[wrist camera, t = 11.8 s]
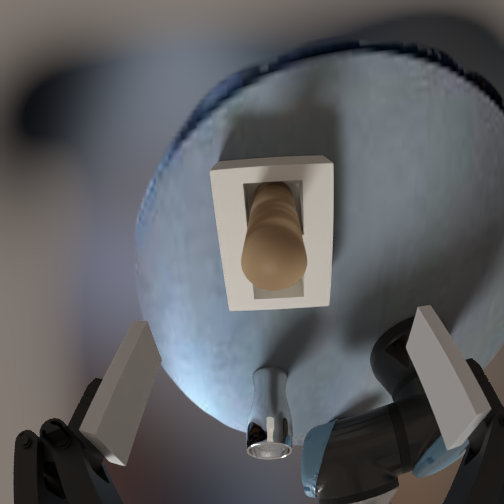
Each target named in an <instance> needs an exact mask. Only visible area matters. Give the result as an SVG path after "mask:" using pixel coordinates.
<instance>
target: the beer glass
mask: <svg viewBox="0 0 504 504" xmlns="http://www.w3.org/2000/svg"><path fill="white" fill-rule="evenodd" d="M253 384H254V397H253V401H252V405H251V408H250V412H249V416H248V421H247V453H248V454H249V455H250V456H252V457H256V458H259V459H278V458H283V457H286V456H288V455H289V454H291V452H292V440H293V425H292V418H291V413H290V409H289V405H288V402H287V398H286V384H287V374H286V373H285V371H283V370H282V369H280V368H276V367H264V368H261V369H259V370H257V371H256V372H255V373H254V374H253Z"/></svg>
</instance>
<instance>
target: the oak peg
mask: <svg viewBox="0 0 504 504" xmlns="http://www.w3.org/2000/svg"><path fill="white" fill-rule="evenodd" d="M241 267H242V270H243V273H244V275H245V276H246V278H247V279H248V280H249V281H250V282H251V283H252V284H254V285H255V286H257V287H259V288H261V289H264V290H270V291H279V290H284V289H287V288H289V287H291V286H293V285H295V284H296V283H297V282H298V281H299V280H300V279H301V278H302V277H303V275H304V273H305V271H306V268H307V255H306V250H305V246H304V241H303V237H302V232H301V228H300V223H299V219H298V215H297V210H296V206H295V202H294V198H293V194H292V191H291V189H290V187H289V186H288V185H287V184H286V183H284V182H282V181H276V182H263V183H261V184H260V185H259V186H258V187H257V189H256V191H255V194H254V198H253V203H252V208H251V213H250V218H249V222H248V227H247V232H246V237H245V242H244V247H243V251H242V256H241Z"/></svg>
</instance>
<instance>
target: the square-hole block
mask: <svg viewBox="0 0 504 504" xmlns="http://www.w3.org/2000/svg"><path fill="white" fill-rule="evenodd" d="M210 177H211V185H212V193H213V201H214V209H215V216H216V223H217V231H218V238H219V245H220V252H221V259H222V266H223V272H224V279H225V285H226V292H227V298H228V305H229V311H247V310H270V309H289V308H306V307H320V306H329V302H330V287H331V270H332V249H333V212H334V168H333V163H332V162H331V161H330V160H329V159H327V158H326V157H325V156H323V155H311V156H285V157H267V158H252V159H240V160H228V161H218V162H217V163H216V164H215V165H214V166H213V168H212V169H211V170H210ZM276 181H282V182H284V183H286V184H287V185H288V186H289V187H290V189H291V191H292V194H293V198H294V202H295V206H296V210H297V215H298V219H299V223H300V228H301V232H302V237H303V241H304V246H305V250H306V255H307V268H306V271H305V273H304V275H303V277H302V278H301V279H300V280H299V281H298V282H297V283H296V284H295V285H293V286H291V287H289V288H287V289H284V290H279V291H270V290H264V289H261V288H259V287H257V286H255V285H254V284H252V283H251V282H250V281H249V280H248V279H247V278H246V276H245V275H244V273H243V270H242V267H241V256H242V251H243V247H244V242H245V237H246V232H247V227H248V222H249V218H250V213H251V208H252V203H253V198H254V194H255V191H256V189H257V187H258V186H259V185H260V184H261V183H263V182H276Z"/></svg>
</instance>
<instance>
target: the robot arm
mask: <svg viewBox="0 0 504 504" xmlns="http://www.w3.org/2000/svg"><path fill="white" fill-rule="evenodd" d="M161 361H162V359H161V357H160V354H159V351H158V349H157V346H156V344H155V341H154V338H153V335H152V333H151V330H150V327H149V324H148V322H147V321H133V323H132V325H131V327H130V328H129V330H128V332H127V334H126V336H125V338H124V339H123V342H122V343H121V345H120V347H119V349H118V351H117V353H116V355H115V356H114V358H113V360H112V362H111V364H110V366H109V368H108V370H107V372H106V374H105V376H104V378H103V379H99V378H95V379H94V380H93V381H92V382H91V383H90V384H89V385H88V387H87V388H86V390H85V392H84V396H82V398H81V400H80V403H79V404H78V406H77V408H76V410H75V412H74V414H73V416H72V419H71V420H70V422H69V425H68V426H67V425H66V424H65V423H64V422H63V421H62V420H60V419H56V418H53V419H49V420H48V421H46V422H45V423H44V424H43V425H42V426H41V429H40V437H38V436H37V435H36V434H35V433H34V432H32V431H31V430H25V431H22V432H21V433H20V434H19V435H18V436H17V438H16V441H15V453H14V504H124V503H123V502H122V500H121V498H120V496H119V494H118V492H117V490H116V488H115V486H114V484H113V482H112V480H111V478H110V475H109V473H108V471H107V469H106V466H105V465H104V463H103V459H104V457H105V458H107V459H108V460H109V461H110V462H112V463H115V464H119V465H123V466H126V464H127V460H128V457H129V454H130V451H131V448H132V445H133V441H134V439H135V435H136V432H137V429H138V426H139V423H140V420H141V417H142V415H143V412H144V408H145V406H146V403H147V400H148V397H149V394H150V392H151V389H152V386H153V383H154V380H155V377H156V375H157V372H158V369H159V367H160V364H161ZM370 364H371V367H372V370H373V373H374V375H375V377H376V378H377V380H378V381H379V382H380V383H381V384H382V385H383V387H384V388H385V389H386V390H387V391H388V392H389V393H390V395H391V396H392V398H393V401H394V403H391V404H388V405H385V406H382V407H379V408H376V409H373V410H370V411H367V412H364V413H361V414H358V415H354V416H351V417H348V418H344V419H341V420H339V419H335V420H334V421H333V422H329V423H326V424H323V425H319V426H316V427H314V428H312V429H311V430H310V431H309V432H308V434H307V435H306V437H305V440H304V444H303V450H302V460H301V462H302V463H301V472H302V483H303V485H304V491H305V493H306V495H307V496H309V497H313V498H315V497H318V500H319V504H391V498H392V496H393V495H394V494H395V492H396V491H397V489H398V488H399V482H398V476H399V475H401V474H404V473H407V472H409V471H412V473H413V475H415V477H417V478H422V477H425V476H427V475H431V474H434V473H436V472H438V471H440V470H442V469H443V468H445V467H447V466H448V465H450V464H452V463H453V462H455V461H456V460H457V459H459V458H460V457H461V456H463V455H464V457H463V459H462V462H461V464H460V467H459V469H458V472H457V474H456V476H455V479H454V481H453V483H452V486H451V488H450V490H449V492H448V494H447V497H446V498H445V500H444V502H443V504H504V407H503V406H502V404H501V402H500V401H499V399H498V397H497V395H496V393H495V391H494V389H493V387H492V386H491V384H490V382H488V379H487V377H486V375H484V372H483V370H482V368H481V366H480V365H479V364H478V363H477V362H476V361H475V360H473V359H472V358H470V359H467V360H465V359H464V357H463V355H462V354H461V352H460V350H459V349H458V347H457V345H456V344H455V342H454V340H453V339H452V337H451V336H450V334H449V332H448V331H447V329H446V327H445V326H444V324H443V323H442V321H441V320H440V319H439V317H438V316H437V314H436V313H435V311H434V310H433V308H432V307H431V305H427V306H420V307H417V311H416V315H415V317H413V318H410V319H407V320H405V321H403V322H401V323H399V324H397V325H396V326H394V327H393V328H391V329H390V330H389V331H387V332H386V333H385V334H384V335H383V336H382V337H381V338H380V339H379V341H378V342H377V343H376V345H375V346H374V348H373V350H372V353H371V357H370Z"/></svg>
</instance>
